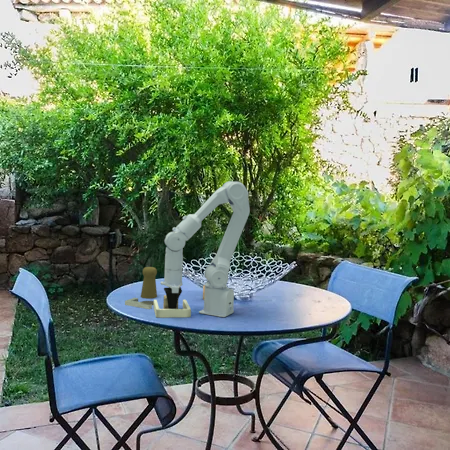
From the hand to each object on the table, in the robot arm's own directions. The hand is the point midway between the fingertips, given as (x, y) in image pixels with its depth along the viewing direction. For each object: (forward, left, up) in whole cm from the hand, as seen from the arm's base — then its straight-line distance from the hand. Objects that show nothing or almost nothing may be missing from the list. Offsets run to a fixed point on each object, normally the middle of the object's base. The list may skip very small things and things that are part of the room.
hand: (172, 309), depth 163 cm
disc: (+14, -6, -1) cm, 15 cm away
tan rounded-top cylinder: (-1, -25, -1) cm, 25 cm away
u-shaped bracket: (+1, -2, -1) cm, 2 cm away
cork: (+19, -15, -1) cm, 24 cm away
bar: (+14, -3, -1) cm, 14 cm away
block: (+3, -4, -1) cm, 5 cm away
